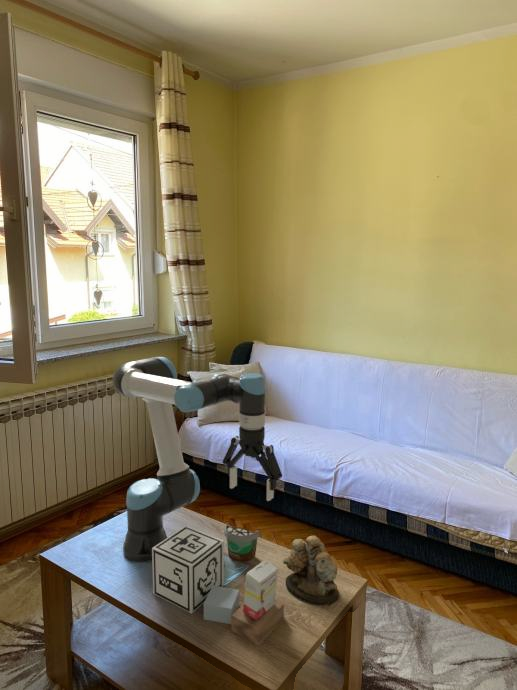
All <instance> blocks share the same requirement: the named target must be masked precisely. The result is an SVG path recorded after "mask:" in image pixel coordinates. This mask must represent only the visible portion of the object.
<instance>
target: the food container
mask: <svg viewBox="0 0 517 690" xmlns="http://www.w3.org/2000/svg"><path fill="white" fill-rule="evenodd" d="M223 534H224V536H225V538H226V545H227V553H228V554H227V555H228V558H229V559H230V560H232V561H234V562H237V563H247V562H250V561H252V560H253V559H254V558H256V553H257V551H256V550H257V543H258V539H259V537H260V531H259V530H258V529H257V530H256V531H253V530H249V529H246V528H243V527H236V526H231V525H228V522H226V525H225V526H224V531H223Z"/></svg>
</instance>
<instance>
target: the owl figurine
mask: <svg viewBox="0 0 517 690" xmlns="http://www.w3.org/2000/svg"><path fill="white" fill-rule="evenodd" d="M282 563H283V564H284V565H286V568H288V569H289V570H290V571H292V573H290V574H289V575H288V576H287V577H285V587H286V590H287V591H288V592H289V593H291V595H293V596H294V597H296V598H297V599H299V600H301V601H303V602H306V603H307V604H312V605H318V606H326V604H327V605H329V604H330V605H331V603H332V604H334V603H336V602H337V601H338V599H339V597H340V594H339V589H338V585H337V584H336V583H335V579H336V578H337V575H338V563H336V561H335V560H334V559H333V558H332V556H331V554H329V553H328V552H327V551H326V547H325V544H324V543H323V542H322V541H321V539H320V538H319V537H317V535H310V536H308V537H306V539H305V540H304V539H302V538H295V539H294V540H292V544H291V551H290V553H289V555H288V558H284V559H283V561H282ZM336 600H337V601H336Z"/></svg>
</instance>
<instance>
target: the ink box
mask: <svg viewBox="0 0 517 690" xmlns="http://www.w3.org/2000/svg"><path fill="white" fill-rule="evenodd" d="M278 572H279V568H278V567H277V566H275V565H274V564H273V563H270V562H269V561H267V560H263V561H261V562H260V563H258V564H257V565H256V566H254V567H253V568H251V569H249V571H247V572H246V575H245V583H244V594H243V595H244V596H243V604H244V605H243V604H242V605H243V613H245V614H247V615H248V616H250V617H251V618H253V619H255V620H258V619H259V618H260V617H261V616H262V615H263V614H264V613H266V612H267V611H268V610H269V609H270V608H271V607H272V606H273V605H274V604H275V600H276V596H277V595H276V593H277V584H278V582H277V581H278Z"/></svg>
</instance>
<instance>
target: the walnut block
mask: <svg viewBox="0 0 517 690" xmlns="http://www.w3.org/2000/svg"><path fill="white" fill-rule="evenodd" d="M243 605H244V603H243V604H242V605H241V606H240V607H238V609H237V611H236V612H235V613H233V614H232V624H231V631H232V632H234V633H236V634H237V635H238V636H241V637H243V638H245V639H246V640H248V641H250V642H251V643H253V644H256V645H257V646H260V645H261V644H262V643H263V642H264V640H265V639H266V638H268V636H269V635H270V634H271V633H272V632H273V631H274V630H275V629H276V628H277V626H278V625H279V624H280V623H281V622H282V621H283V620H284V616H285V615H284V613H285V603H282V602H280V601H279V600H277V599H275V604H274V605H273V606H272V607H271V608H270V609H269V610H268V611H267V612H266V613H264V614H263V615H262V616H261V617H260V618H259V619H258V620H255V619H253V618H251V617H250V616H248V615H247V614H245V613H243Z"/></svg>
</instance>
